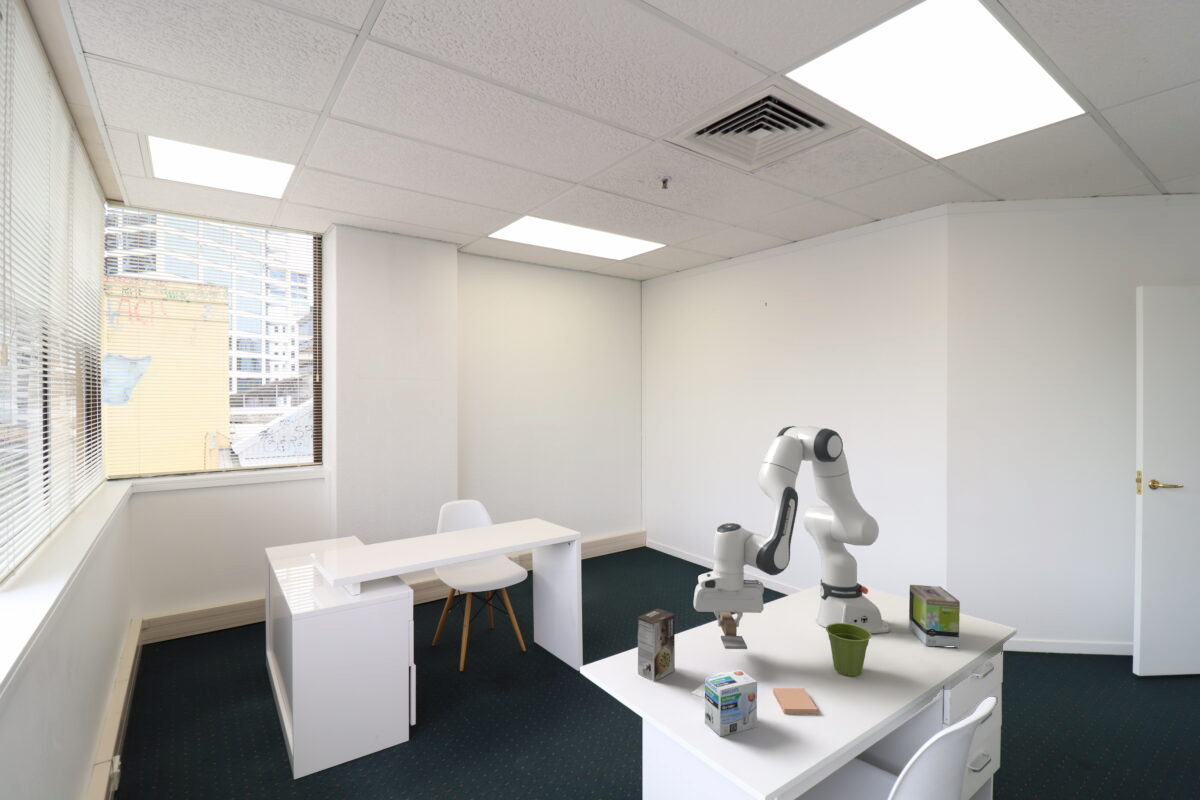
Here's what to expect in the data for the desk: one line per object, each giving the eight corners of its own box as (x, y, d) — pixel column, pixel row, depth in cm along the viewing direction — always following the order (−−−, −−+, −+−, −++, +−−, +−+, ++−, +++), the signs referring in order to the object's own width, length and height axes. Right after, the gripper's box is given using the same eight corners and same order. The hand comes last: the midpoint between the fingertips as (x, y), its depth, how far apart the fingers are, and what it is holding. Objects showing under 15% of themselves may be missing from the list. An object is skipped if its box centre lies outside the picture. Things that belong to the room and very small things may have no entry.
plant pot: (820, 673, 162) (820, 632, 162) (832, 657, 172) (832, 619, 172) (865, 685, 155) (865, 643, 155) (875, 669, 165) (875, 629, 165)
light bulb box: (720, 737, 132) (720, 690, 132) (703, 722, 138) (703, 677, 138) (758, 727, 136) (758, 681, 136) (740, 712, 142) (740, 668, 142)
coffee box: (657, 663, 168) (657, 607, 168) (675, 671, 163) (675, 613, 163) (636, 674, 162) (636, 616, 162) (654, 682, 157) (654, 622, 157)
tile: (803, 688, 151) (817, 709, 141) (803, 694, 151) (817, 716, 141) (772, 688, 152) (784, 708, 142) (772, 694, 152) (784, 715, 142)
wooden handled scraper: (715, 624, 178) (715, 611, 178) (734, 625, 177) (735, 612, 177) (725, 648, 161) (725, 634, 161) (747, 649, 160) (747, 634, 160)
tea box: (960, 649, 178) (960, 600, 178) (925, 646, 180) (925, 598, 180) (940, 629, 193) (940, 585, 193) (907, 627, 195) (908, 583, 194)
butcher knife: (736, 680, 159) (736, 676, 159) (707, 702, 148) (707, 698, 148) (720, 674, 162) (720, 670, 162) (690, 695, 151) (690, 691, 151)
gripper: (761, 576, 175) (760, 622, 175) (693, 575, 176) (692, 621, 176) (766, 583, 169) (766, 631, 169) (695, 582, 170) (695, 629, 170)
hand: (728, 626), depth 173 cm, fingers closed on wooden handled scraper, 3 cm apart
